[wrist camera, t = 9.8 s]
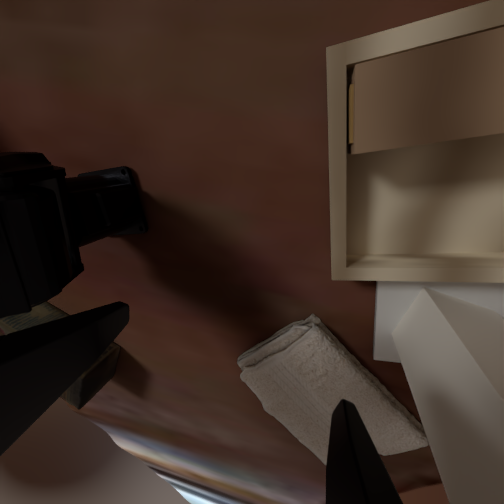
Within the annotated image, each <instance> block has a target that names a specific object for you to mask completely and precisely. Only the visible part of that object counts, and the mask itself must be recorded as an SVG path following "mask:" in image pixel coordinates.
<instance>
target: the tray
mask: <svg viewBox="0 0 504 504" xmlns="http://www.w3.org/2000/svg"><path fill="white" fill-rule="evenodd" d="M501 27H504V0H490V1H487V2H483V3H480V4H476V5H473V6H469V7H466V8H462V9H459V10H455V11H452V12H448V13H445V14H441V15H438V16H434V17H431V18H427V19H424V20H421V21H417V22H414V23H410V24H407V25H403V26H400V27H396V28H393V29H389V30H386V31H382V32H379V33H375V34H372V35H368V36H365V37H361V38H358V39H354V40H351V41H347V42H344V43H340V44H337V45H333V46H330V47H326V57H327V100H328V142H329V184H330V227H331V269H332V280H361V281H424V282H486V283H504V133H500V134H493V135H486V136H479V137H472V138H465V139H458V140H451V141H444V142H437V143H430V144H423V145H416V146H409V147H402V148H395V149H388V150H381V151H374V152H367V153H360V154H349V144H347V94H348V91H349V84H350V81H351V78H352V74H353V71H354V67H355V65H356V64H360V63H364V62H368V61H372V60H376V59H379V58H383V57H387V56H391V55H395V54H399V53H403V52H407V51H411V50H415V49H419V48H423V47H427V46H430V45H434V44H438V43H442V42H446V41H450V40H454V39H458V38H462V37H466V36H470V35H474V34H478V33H481V32H485V31H489V30H493V29H497V28H501Z"/></svg>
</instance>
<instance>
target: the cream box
mask: <svg viewBox="0 0 504 504" xmlns="http://www.w3.org/2000/svg"><path fill="white" fill-rule="evenodd" d="M392 337H393V340H394V343H395V346H396V349H397V351H398V354H399V357H400V360H401V363H402V366H403V369H404V372H405V375H406V378H407V381H408V384H409V386H410V389H411V392H412V395H413V398H414V401H415V404H416V407H417V410H418V413H419V416H420V419H421V421H422V424H423V427H424V430H425V433H426V436H427V439H428V442H429V445H430V448H431V451H432V454H433V456H434V459H435V462H436V465H437V468H438V471H439V474H440V477H441V480H442V483H443V486H444V489H445V491H446V494H447V497H448V500H449V503H450V504H504V319H503V318H502V317H501V316H500V315H499V314H498V313H497V312H496V311H493V310H490V309H487V308H484V307H481V306H478V305H475V304H472V303H470V302H467V301H464V300H461V299H458V298H455V297H452V296H449V295H446V294H443V293H440V292H437V291H434V290H431V289H428V288H425V287H423V288H422V290H421V291H420V293H419V294H418V296H417V297H416V299H415V300H414V301H413V303H412V304H411V306H410V307H409V309H408V310H407V312H406V313H405V315H404V316H403V317H402V319H401V320H400V322H399V323H398V325H397V326H396V328H395V329H394V331H393V332H392Z"/></svg>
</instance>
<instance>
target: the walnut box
mask: <svg viewBox="0 0 504 504" xmlns="http://www.w3.org/2000/svg"><path fill="white" fill-rule="evenodd" d="M500 133H504V27H501V28H497V29H493V30H489V31H485V32H481V33H478V34H474V35H470V36H466V37H462V38H458V39H454V40H450V41H446V42H442V43H438V44H434V45H430V46H427V47H423V48H419V49H415V50H411V51H407V52H403V53H399V54H395V55H391V56H387V57H383V58H379V59H376V60H372V61H368V62H364V63H360V64H356V65H355V67H354V71H353V74H352V78H351V81H350V84H349V91H348V94H347V144H349V154H360V153H367V152H374V151H381V150H388V149H395V148H402V147H409V146H416V145H423V144H430V143H437V142H444V141H451V140H458V139H465V138H472V137H479V136H486V135H493V134H500Z"/></svg>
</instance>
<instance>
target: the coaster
mask: <svg viewBox="0 0 504 504" xmlns="http://www.w3.org/2000/svg"><path fill="white" fill-rule="evenodd" d="M423 287H425V288H428V289H431V290H434V291H437V292H440V293H443V294H446V295H449V296H452V297H455V298H458V299H461V300H464V301H467V302H470V303H472V304H475V305H478V306H481V307H484V308H487V309H490V310H493V311H496V312H497V313H498V314H499V315H500V316H501V317H502V318H503V319H504V283H486V282H424V281H376V300H375V320H374V340H373V358H374V360H381V361H390V362H399V363H401V360H400V357H399V354H398V351H397V349H396V346H395V343H394V340H393V337H392V332H393V331H394V329H395V328H396V326H397V325H398V323H399V322H400V320H401V319H402V317H403V316H404V315H405V313H406V312H407V310H408V309H409V307H410V306H411V304H412V303H413V301H414V300H415V299H416V297H417V296H418V294H419V293H420V291H421V290H422V288H423Z"/></svg>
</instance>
